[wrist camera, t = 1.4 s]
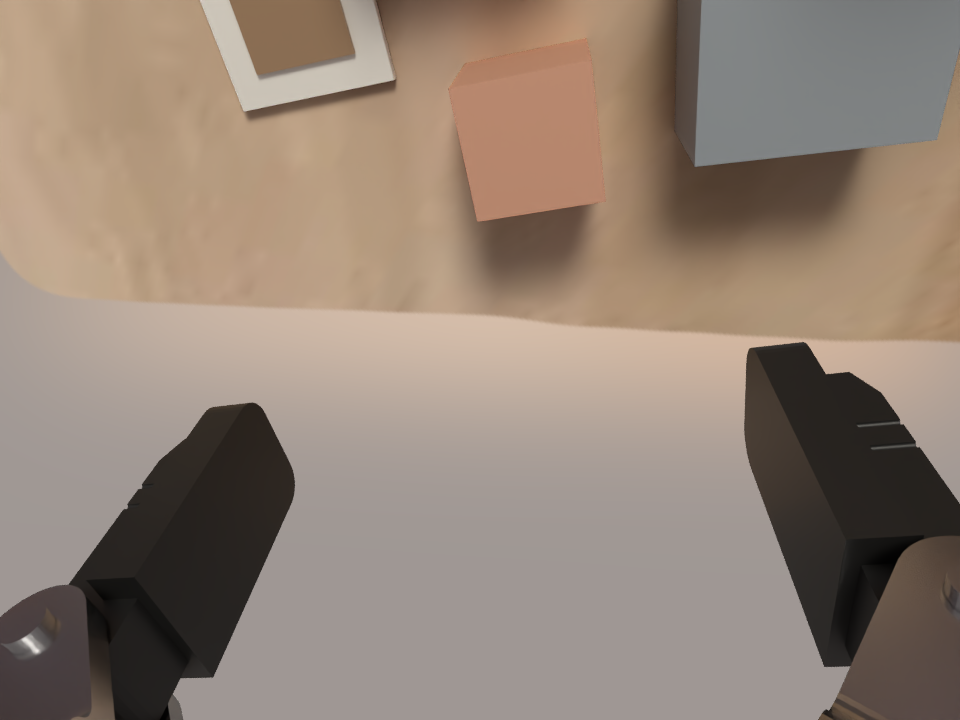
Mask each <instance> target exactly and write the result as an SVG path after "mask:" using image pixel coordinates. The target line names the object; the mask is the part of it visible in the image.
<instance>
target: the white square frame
mask: <svg viewBox="0 0 960 720" xmlns="http://www.w3.org/2000/svg"><path fill="white" fill-rule="evenodd" d="M200 2H201V4H202V7H203V9H204V12H205V14H206V17H207V19H208V22H209V24H210V27H211V30H212V32H213V35H214V37H215V40H216V42H217V45H218V47H219V50H220V52H221V55H222V58H223V60H224V63H225V65H226V68H227V70H228V73H229V75H230V78H231V80H232V83H233V85H234V88H235V91H236V93H237V96H238V98H239V101H240V103H241V106H242V108H243V111H244V112H245V111H249V110H254V109H259V108H264V107H268V106H273V105H278V104H283V103H288V102H292V101H297V100H302V99H307V98H311V97H316V96H321V95H326V94H330V93H335V92H340V91H345V90H350V89H354V88H359V87H364V86H369V85H373V84H378V83H383V82H388V81H392V80H395V79H396V75H395V71H394V68H393V64H392V60H391V56H390V52H389V48H388V44H387V41H386V37H385V33H384V29H383V25H382V21H381V17H380V14H379V10H378V6H377V2H376V0H200Z"/></svg>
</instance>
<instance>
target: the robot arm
mask: <svg viewBox="0 0 960 720" xmlns="http://www.w3.org/2000/svg"><path fill="white" fill-rule="evenodd" d="M744 424H745V425H744V431H745V442H746V448H747V454H748V459H749V463H750V466H751V469H752V472H753V474H754V477H755V480H756V483H757V485H758V488H759V491H760V494H761V496H762V499H763V502H764V504H765V507H766V510H767V513H768V515H769V518H770V521H771V523H772V526H773V529H774V531H775V534H776V537H777V540H778V542H779V545H780V547H781V551H782V553H783V556H784V559H785V561H786V564H787V566H788V569H789V572H790V575H791V578H792V580H793V583H794V586H795V588H796V591H797V594H798V597H799V599H800V602H801V604H802V608H803V610H804V613H805V616H806V618H807V621H808V624H809V626H810V629H811V632H812V635H813V637H814V640H815V643H816V646H817V648H818V651H819V654H820V656H821V659H822V662H823V665H824V667H839V666H850V669H849V671H848V673H847V675H846V678H845V680H844V682H843V684H842V687H841V689H840V691H839V693H838V695H837V698H836V700H835V702H834V703H833V705H832V707H831V709H830V710H829V711H828V710H825V711H824V712H823V713H822V714H821V716H820V717H819V719H818V720H960V504H959V502H958V501H957V499H956V498H955V497H954V495H953V494H952V492H951V491H950V489H949V488H948V487H947V485H946V484H945V482H944V481H943V480H942V478H941V477H940V475H939V474H938V472H937V471H936V470H935V468H934V467H933V465H932V464H931V463H930V461H929V460H928V458H927V457H926V455H925V454H924V453H923V451H922V450H921V449H920V447H919V448H917V447H916V441H915V440H914V438H913V437H912V436H911V434H910V433H909V431H908V430H907V429H906V427H905V426H904V425H901V424H900V419H899V417H898V416H897V414H896V413H895V412H894V410H893V409H892V407H891V406H890V405H889V403H888V402H887V400H886V399H885V397H884V396H883V395H882V393H881V392H879V391H878V390H876V389H875V388H873V387H872V386H870V385H868V384H867V383H865V382H864V381H862V380H861V379H859V378H858V377H856V376H854V375H853V374H852V373H850V372H845V373H835V374H825V372H824V371H823V369H822V367H821V366H820V364H819V362H818V361H817V359H816V357H815V356H814V354H813V352H812V351H811V349H810V348H809V346H808V345H807V344H806V343H804V342H801V343H791V344H783V345H774V346H764V347H756V348H750V349H749V351H748V354H747V363H746V393H745V423H744ZM294 488H295V480H294V474H293V470H292V467H291V465H290V463H289V461H288V459H287V456H286V454H285V452H284V451H283V448H282V446H281V445H280V443H279V440H278V439H277V437H276V435H275V432H274V430H273V428H272V426H271V424H270V423H269V420H268V419H267V417H266V414H265V413H264V411H263V409H262V408H261V407H260V406H259V405H257V404H256V403H245V404H237V405H227V406H219V407H212V408H209V409H208V410H207V411H206V412H205V413H204V415H203V416H202V417H201V419H200V420H199V421H198V423H197V424H196V426H195V427H194V429H193V430H192V431H191V433H190V434H189V436H188V437H187V438H186V439H185V440H183V441H182V442H181V443H180V444H178V445H177V446H176V447H175V448H174V449H173V450H171V451H170V452H169V453H168V454H167V455H165V456H164V457H163V458H162V459H161V460H160V461H159V462H158V463H157V465H156V466H155V467H154V469H153V470H152V472H151V473H150V474H149V476H148V477H147V478H146V480H145V481H144V482H143V484H142V489H138V491H137V492H136V493H135V495H134V496H133V497H132V499H131V500H130V501H129V503H128V509H124V510H123V511H122V512H121V514H120V515H119V517H118V518H117V519H116V521H115V522H114V523H113V525H112V526H111V527H110V529H109V530H108V532H107V533H106V534H105V536H104V537H103V538H102V540H101V541H100V542H99V544H98V545H97V547H96V548H95V549H94V551H93V552H92V553H91V555H90V556H89V558H88V559H87V560H86V561H85V563H84V564H83V566H82V567H81V568H80V570H79V571H78V572H77V574H76V575H75V577H74V578H73V579H72V581H71V582H70V583H69V585H59V586H54V587H50V588H47V589H44V590H42V591H39V592H37V593H35V594H33V595H31V596H30V597H27V598H26V599H24V600H22V601H21V602H19V603H18V604H16V605H15V606H13V607H12V608H11V609H9V610H8V611H7V612H6V613H4V614H3V615H2V616H1V617H0V720H183V716H182V711H181V707H180V704H179V702H178V700H177V699H176V698H175V696H174V695H173V692H174V690H175V688H176V686H177V684H178V682H179V680H180V678H207V677H214V674H215V672H216V670H217V668H218V665H219V663H220V661H221V659H222V656H223V654H224V652H225V650H226V648H227V645H228V643H229V641H230V639H231V636H232V634H233V632H234V630H235V628H236V625H237V623H238V621H239V619H240V616H241V614H242V612H243V610H244V607H245V605H246V603H247V601H248V599H249V596H250V594H251V592H252V590H253V588H254V585H255V583H256V581H257V579H258V577H259V574H260V572H261V570H262V567H263V565H264V563H265V561H266V559H267V556H268V554H269V552H270V550H271V548H272V545H273V543H274V541H275V538H276V536H277V534H278V532H279V530H280V528H281V525H282V523H283V521H284V518H285V516H286V514H287V512H288V510H289V508H290V505H291V503H292V500H293V496H294Z"/></svg>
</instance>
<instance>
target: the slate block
mask: <svg viewBox="0 0 960 720" xmlns="http://www.w3.org/2000/svg"><path fill="white" fill-rule="evenodd" d="M959 49H960V0H677V44H676V88H675V133H676V135H677V136H678V138H679V140H680V142H681V143H682V145H683V147H684V149H685V151H686V152H687V154H688V156H689V158H690V159H691V161H692V163H693V165H694V167H698V166H707V165H716V164H725V163H734V162H743V161H752V160H761V159H770V158H779V157H788V156H797V155H806V154H815V153H824V152H833V151H842V150H851V149H860V148H869V147H878V146H887V145H896V144H905V143H914V142H923V141H932V140H937V137H938V133H939V129H940V125H941V121H942V117H943V113H944V109H945V105H946V101H947V97H948V93H949V89H950V85H951V81H952V77H953V73H954V69H955V65H956V61H957V57H958V53H959Z"/></svg>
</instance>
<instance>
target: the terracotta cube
mask: <svg viewBox="0 0 960 720" xmlns="http://www.w3.org/2000/svg"><path fill="white" fill-rule="evenodd" d="M448 90H449V95H450V99H451V104H452V108H453V113H454V117H455V122H456V126H457V131H458V136H459V140H460V145H461V149H462V154H463V158H464V163H465V168H466V172H467V177H468V181H469V186H470V190H471V195H472V199H473V204H474V209H475V213H476V218H477V222H480V221H486V220H492V219H499V218H505V217H511V216H518V215H524V214H530V213H536V212H543V211H549V210H555V209H562V208H568V207H574V206H580V205H587V204H593V203H599V202H606V198H605V188H604V178H603V168H602V158H601V148H600V138H599V128H598V118H597V108H596V98H595V88H594V78H593V68H592V59H591V55H590V51H589V47H588V44H587V40H586V38H584V39H579V40H575V41H570V42H565V43H560V44H556V45H551V46H546V47H541V48H537V49H532V50H527V51H522V52H518V53H513V54H508V55H503V56H499V57H494V58H489V59H484V60H480V61H475V62H470V63H465V64H464V66H463V67H462V69H461V70H460V72H459V73H458V75H457V76H456V78H455V80H454V81H453V83H452V84H451V86H450V87H449V89H448Z"/></svg>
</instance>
